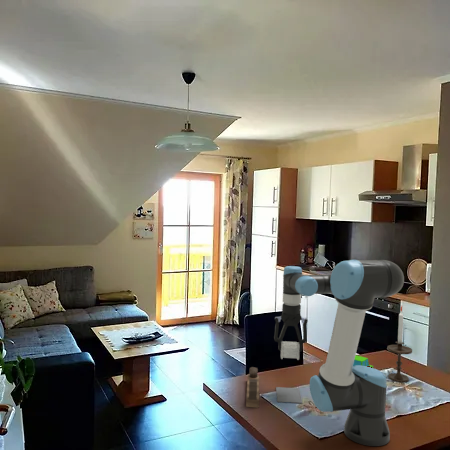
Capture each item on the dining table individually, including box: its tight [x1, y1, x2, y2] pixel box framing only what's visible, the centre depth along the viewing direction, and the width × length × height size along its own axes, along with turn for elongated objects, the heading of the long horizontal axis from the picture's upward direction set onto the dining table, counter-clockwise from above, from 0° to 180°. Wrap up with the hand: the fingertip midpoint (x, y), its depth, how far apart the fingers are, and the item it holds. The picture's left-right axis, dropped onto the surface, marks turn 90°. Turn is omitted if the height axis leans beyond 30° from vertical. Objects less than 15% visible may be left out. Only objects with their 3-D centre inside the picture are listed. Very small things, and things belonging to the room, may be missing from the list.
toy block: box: [353, 354, 374, 368], centre depth 206 cm, size 10×13×10 cm
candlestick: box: [386, 305, 413, 383], centre depth 204 cm, size 11×11×35 cm
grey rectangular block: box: [282, 340, 298, 359], centre depth 183 cm, size 9×6×4 cm, turn 176°
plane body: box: [245, 366, 260, 408], centre depth 184 cm, size 26×5×10 cm, turn 176°
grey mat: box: [275, 386, 303, 404], centre depth 183 cm, size 14×10×1 cm
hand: (289, 358), depth 183 cm, fingers closed on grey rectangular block, 6 cm apart
